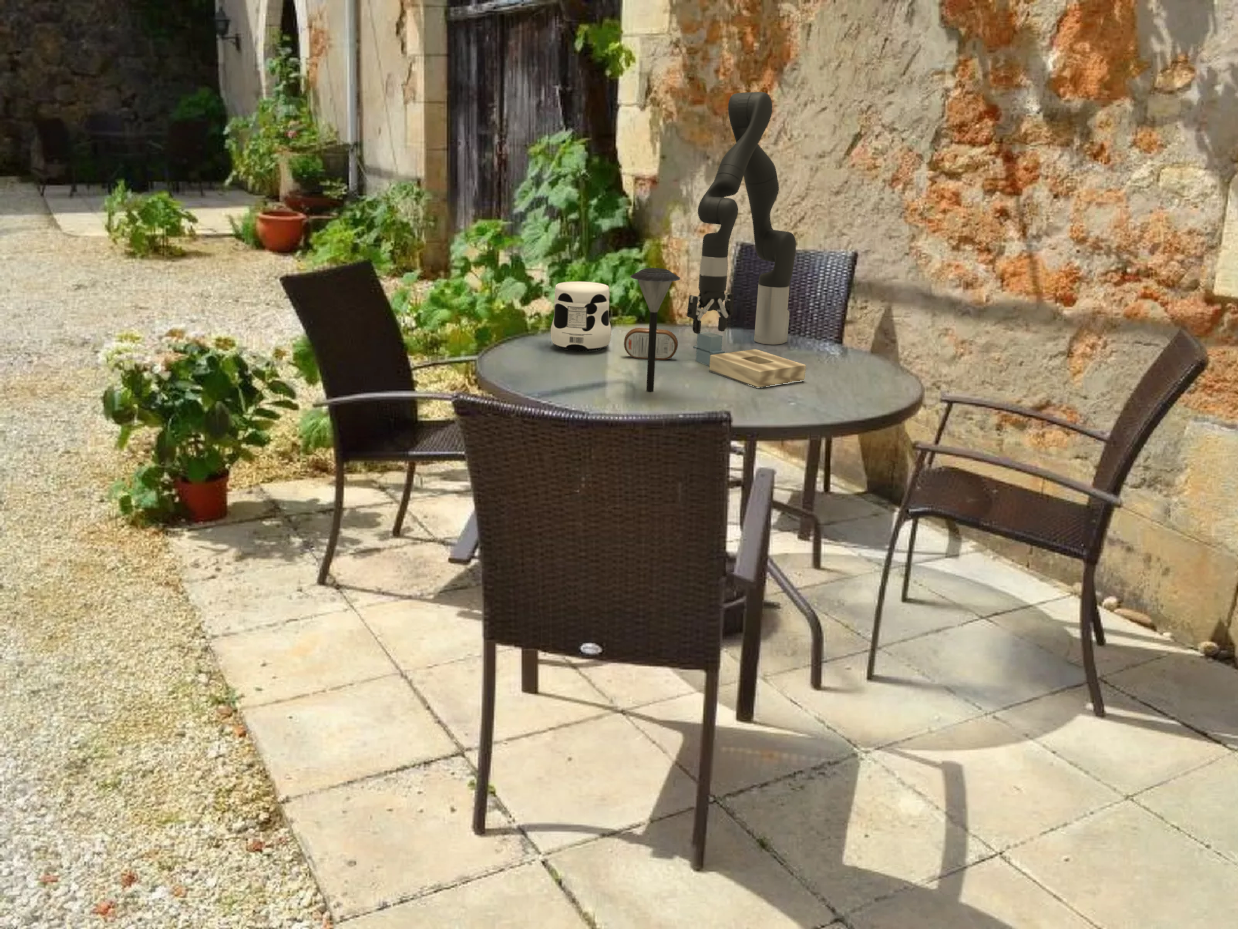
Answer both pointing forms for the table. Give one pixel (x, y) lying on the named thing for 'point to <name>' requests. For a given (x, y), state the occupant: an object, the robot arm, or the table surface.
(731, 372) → the block
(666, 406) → the table surface
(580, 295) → the milk container
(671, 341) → the tin
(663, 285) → the solar garden light
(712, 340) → the grey-blue stepped block
